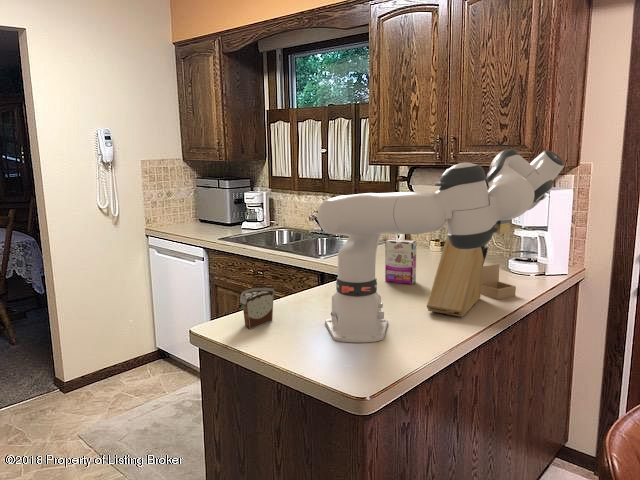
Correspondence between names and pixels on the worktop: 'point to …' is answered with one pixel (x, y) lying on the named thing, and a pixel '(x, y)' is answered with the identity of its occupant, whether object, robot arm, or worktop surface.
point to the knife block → (457, 280)
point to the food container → (257, 306)
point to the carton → (495, 283)
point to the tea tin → (503, 226)
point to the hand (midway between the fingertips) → (499, 216)
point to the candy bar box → (400, 261)
